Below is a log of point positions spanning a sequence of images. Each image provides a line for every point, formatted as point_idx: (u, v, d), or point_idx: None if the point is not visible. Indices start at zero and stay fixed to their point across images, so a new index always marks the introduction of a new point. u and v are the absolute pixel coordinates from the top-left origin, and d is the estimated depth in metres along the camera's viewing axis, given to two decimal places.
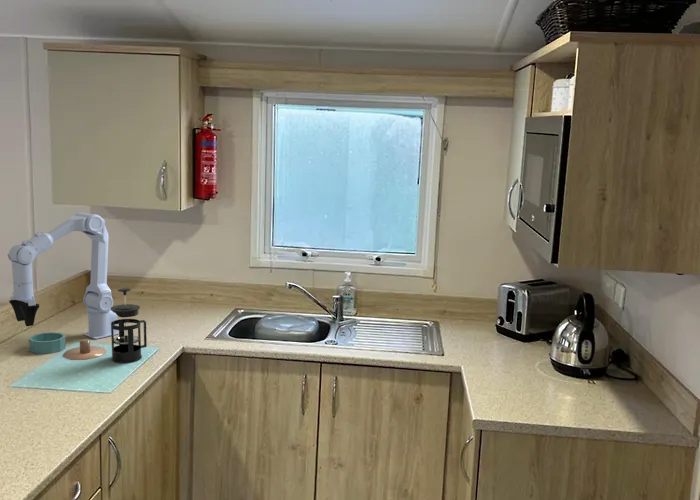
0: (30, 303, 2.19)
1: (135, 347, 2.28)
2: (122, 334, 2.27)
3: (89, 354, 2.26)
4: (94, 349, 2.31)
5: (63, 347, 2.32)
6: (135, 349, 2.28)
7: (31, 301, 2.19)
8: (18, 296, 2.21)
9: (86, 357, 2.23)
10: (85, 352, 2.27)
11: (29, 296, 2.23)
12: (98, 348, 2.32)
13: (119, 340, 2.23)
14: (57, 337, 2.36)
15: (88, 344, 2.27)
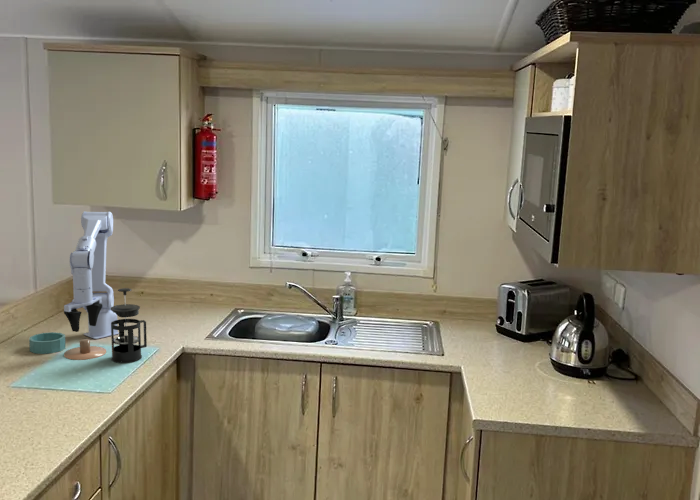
0: (64, 308, 2.19)
1: (135, 347, 2.28)
2: (122, 334, 2.27)
3: (89, 354, 2.26)
4: (94, 349, 2.31)
5: (63, 347, 2.32)
6: (135, 349, 2.28)
7: (65, 307, 2.19)
8: (73, 300, 2.25)
9: (86, 357, 2.23)
10: (85, 352, 2.27)
11: (78, 302, 2.23)
12: (98, 348, 2.32)
13: (119, 340, 2.23)
14: (57, 337, 2.36)
15: (88, 344, 2.27)
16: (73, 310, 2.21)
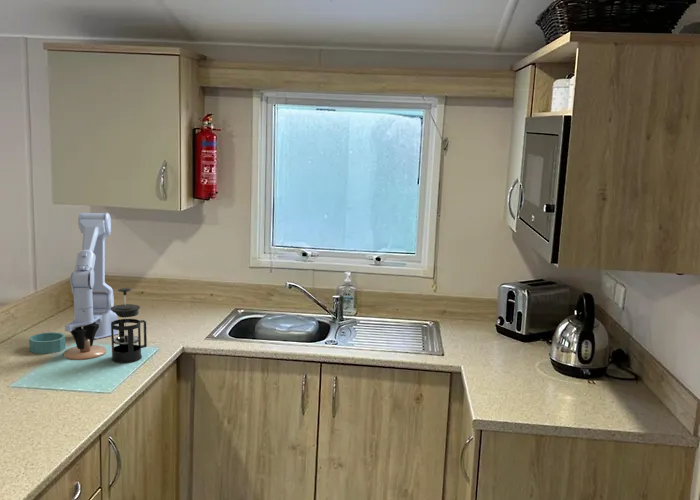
0: (65, 328, 2.20)
1: (135, 347, 2.28)
2: (122, 334, 2.27)
3: (89, 353, 2.26)
4: (94, 348, 2.31)
5: (63, 347, 2.32)
6: (135, 349, 2.28)
7: (66, 327, 2.20)
8: (74, 319, 2.26)
9: (86, 356, 2.23)
10: (85, 351, 2.27)
11: (79, 322, 2.24)
12: (98, 347, 2.32)
13: (119, 340, 2.23)
14: (57, 337, 2.36)
15: (88, 343, 2.27)
16: (78, 328, 2.24)
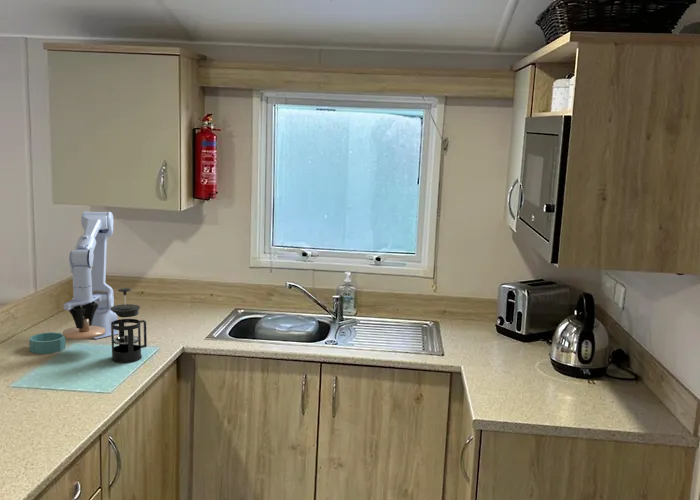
0: (64, 307, 2.19)
1: (135, 347, 2.28)
2: (122, 334, 2.27)
3: (88, 332, 2.25)
4: (93, 328, 2.30)
5: (63, 347, 2.32)
6: (135, 349, 2.28)
7: (65, 305, 2.19)
8: None
9: (85, 335, 2.22)
10: (84, 331, 2.26)
11: (78, 301, 2.23)
12: (97, 328, 2.31)
13: (119, 340, 2.23)
14: (57, 337, 2.36)
15: (87, 323, 2.26)
16: (77, 307, 2.22)
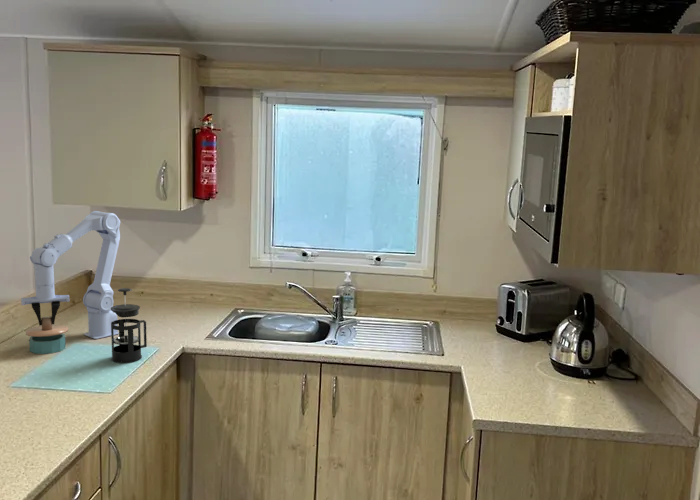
0: None
1: (135, 347, 2.28)
2: (122, 334, 2.27)
3: (44, 331, 2.27)
4: (57, 328, 2.32)
5: (63, 347, 2.32)
6: (135, 349, 2.28)
7: (21, 300, 2.26)
8: None
9: (36, 333, 2.25)
10: (44, 329, 2.29)
11: (36, 298, 2.27)
12: (62, 328, 2.32)
13: (119, 340, 2.23)
14: (57, 337, 2.36)
15: (47, 321, 2.29)
16: (34, 304, 2.27)
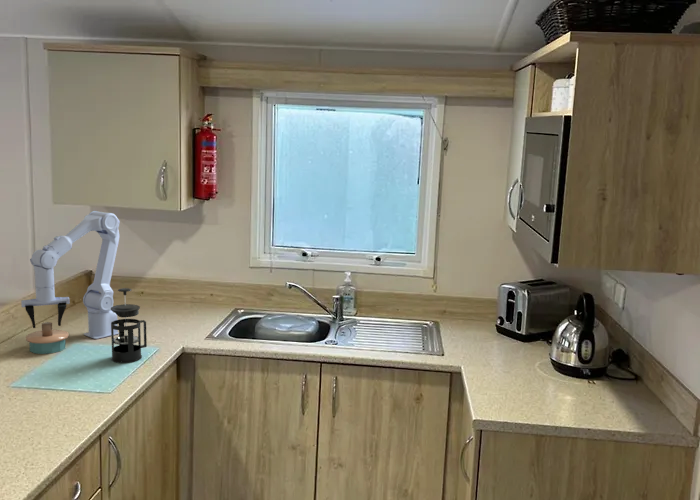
0: None
1: (135, 347, 2.28)
2: (122, 334, 2.27)
3: (45, 337, 2.28)
4: (58, 334, 2.32)
5: (63, 347, 2.32)
6: (135, 349, 2.28)
7: (21, 302, 2.26)
8: None
9: (37, 340, 2.25)
10: (44, 335, 2.29)
11: (36, 300, 2.27)
12: (63, 334, 2.32)
13: (119, 340, 2.23)
14: None
15: (47, 328, 2.29)
16: (28, 306, 2.27)
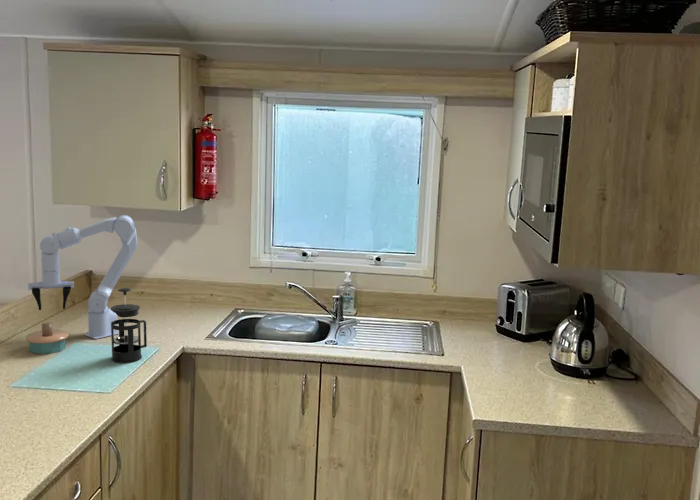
0: None
1: (135, 347, 2.28)
2: (122, 334, 2.27)
3: (45, 337, 2.28)
4: (58, 334, 2.32)
5: (63, 347, 2.32)
6: (135, 349, 2.28)
7: (28, 284, 2.39)
8: None
9: (37, 340, 2.25)
10: (44, 335, 2.29)
11: (42, 283, 2.39)
12: (63, 334, 2.32)
13: (119, 340, 2.23)
14: None
15: (47, 328, 2.29)
16: (34, 289, 2.39)
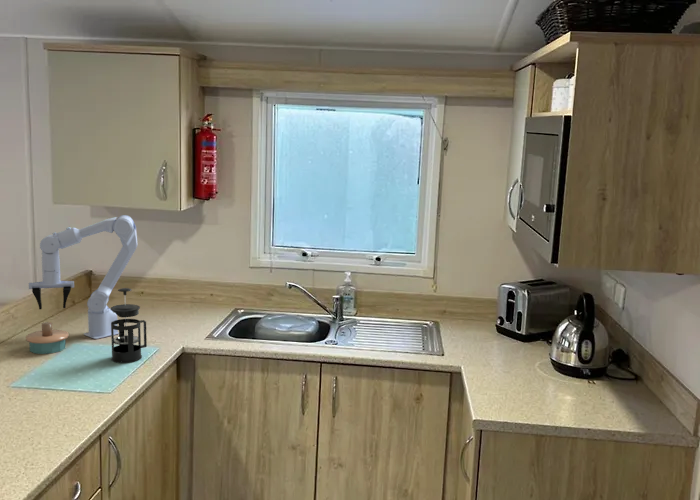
0: None
1: (135, 347, 2.28)
2: (122, 334, 2.27)
3: (45, 337, 2.28)
4: (58, 334, 2.32)
5: (63, 347, 2.32)
6: (135, 349, 2.28)
7: None
8: None
9: (37, 340, 2.25)
10: (44, 335, 2.29)
11: (42, 282, 2.40)
12: (63, 334, 2.32)
13: (119, 340, 2.23)
14: None
15: (47, 328, 2.29)
16: (35, 288, 2.39)
